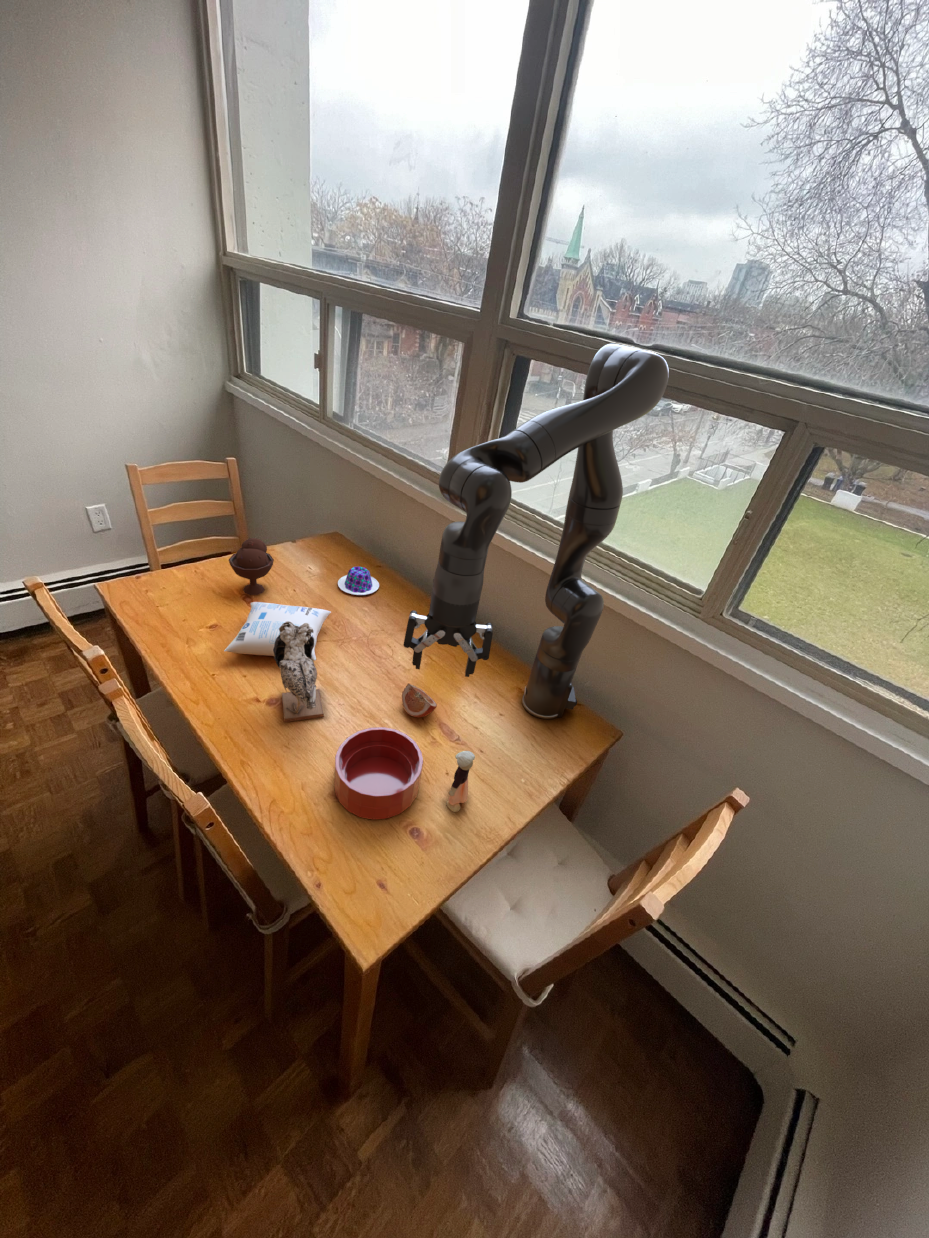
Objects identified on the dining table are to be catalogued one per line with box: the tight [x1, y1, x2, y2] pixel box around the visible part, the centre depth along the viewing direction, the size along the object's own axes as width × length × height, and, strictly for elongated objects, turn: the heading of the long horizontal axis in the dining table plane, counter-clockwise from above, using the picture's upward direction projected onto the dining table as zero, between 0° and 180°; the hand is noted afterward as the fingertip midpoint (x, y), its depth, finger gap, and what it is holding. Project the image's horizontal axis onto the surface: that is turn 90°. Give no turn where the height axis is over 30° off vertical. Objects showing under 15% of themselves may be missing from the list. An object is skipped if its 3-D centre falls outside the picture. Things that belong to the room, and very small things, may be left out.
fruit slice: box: [401, 683, 438, 718], centre depth 110 cm, size 8×7×5 cm
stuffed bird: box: [273, 621, 325, 723], centre depth 103 cm, size 10×20×17 cm, turn 39°
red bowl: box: [334, 726, 424, 821], centre depth 92 cm, size 15×15×7 cm
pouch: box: [223, 601, 332, 661], centre depth 121 cm, size 8×19×20 cm
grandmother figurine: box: [445, 750, 476, 813], centre depth 91 cm, size 8×4×13 cm, turn 168°
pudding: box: [337, 566, 380, 596], centre depth 148 cm, size 12×12×5 cm
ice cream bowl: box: [228, 537, 275, 596], centre depth 136 cm, size 11×11×15 cm
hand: (442, 670), depth 87 cm, fingers open, 8 cm apart
